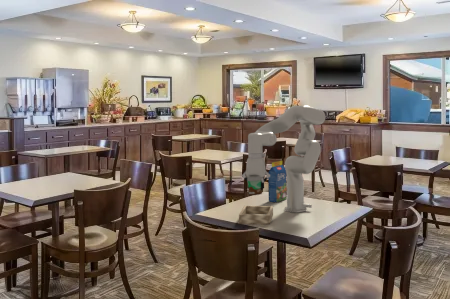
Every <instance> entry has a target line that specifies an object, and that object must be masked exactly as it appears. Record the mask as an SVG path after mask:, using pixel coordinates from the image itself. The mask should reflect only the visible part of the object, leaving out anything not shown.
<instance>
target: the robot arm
mask: <svg viewBox="0 0 450 299" xmlns="http://www.w3.org/2000/svg"><path fill="white" fill-rule="evenodd" d="M325 120H326V114H325V112H324V111H323V110H322V109H319V108H316V107H312V106H309V105H292V106H290V107H289V108H288V109H287V110H285V111H284V112H283V113H282V114H281V115H280V116H278V117H277V118H275V119H274V120H273V119H272V120H271V121H270V122H267V123H265V124H263V125H262V126H260V127H259V128H257V130H256V131H255V132H251V133H248V135H247V146H248V147H247V148H248V149H247V150H248V154H247V155H248V158H247V160H246V170H245V171H244V172H243V174H241V177H242V178H243V179H244V180H245V181H246V182H247V183H248V181H247V177H256V176H260V177H262V180H261V181H262V183H261V190H262V191H263V189H265V182H266V181H267V180H268V178H269V177H270V175H269V171H267V170H266V162H265V158H264V157H266V153H264V152H263V150H264V149H263V147H264V146H265V147H266V146H267V147H272V146H274V145H275V144H276V143H277V140H278V139H277V135H276V134H280V133H283V132H286V131H289V129H290V128H291V127H292V126H293V125H295V124H296V123H297V122H299V124H300V127H301V129H300V134H299V136H298V137H297V140H296V143H295V145H294V149H293V150H294V153H295V154H296V155H289V156H288V157H287V158H285V162H284V168H285V169H286V183H287V199H286V204H287V205H286V206H285V207H284V211H285V212H288V213H304V212H306V211H307V208H312V207H313V206H312V205H313V204H311V203H305V200H304V199H305V198H304V197H305V193H304V192H305V191H304V190H305V189H304V186H305V185H304V183H305V182H304V176H303V175H309V174H311V173H312V172H313V171H314V169H315V167H316V166H317V165H316V164H317V162H318V160H319V158H320V154H321V152H322V148H321V144H320V142H318V141H317V140H314V139H315V137H316V131H315V128H314V125H316V126H317V125H318V126H319V125H322V124H323V123H324V122H325ZM265 176H266V177H265ZM263 178H264V179H263Z"/></svg>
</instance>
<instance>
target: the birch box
mask: <svg viewBox="0 0 450 299" xmlns="http://www.w3.org/2000/svg"><path fill="white" fill-rule="evenodd" d="M273 216H274V206H273V205H244V206H243V208H242V209H241V210H240V212H239V213H238V224H239V225H264V226H270V225H271V223H272V220H273Z"/></svg>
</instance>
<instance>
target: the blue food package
mask: <svg viewBox="0 0 450 299" xmlns="http://www.w3.org/2000/svg"><path fill="white" fill-rule="evenodd" d="M268 173H269V175H270V177H269V178H268V179H267V180H268V181H267V182H268V187H267V189H268V202H269V203H270V202H272V203H279V202H282V201H285V200H287V174H286V169H285V165H283V160H279V161H273V162H271V167H270V169H269V170H268Z"/></svg>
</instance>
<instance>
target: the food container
mask: <svg viewBox="0 0 450 299" xmlns="http://www.w3.org/2000/svg"><path fill="white" fill-rule="evenodd" d="M246 177H247V176H246ZM264 178H265V177H263V179H264ZM261 180H262V177H260V176H256V177H247V181H248V182H247V181H246V182H247V188H248V196H259V195H262V194H263V190H261V183H262V181H261Z"/></svg>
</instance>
